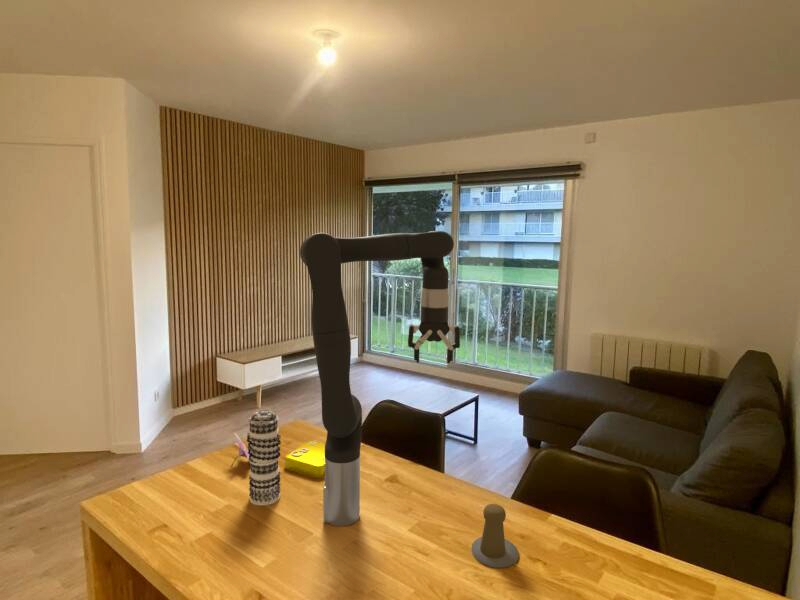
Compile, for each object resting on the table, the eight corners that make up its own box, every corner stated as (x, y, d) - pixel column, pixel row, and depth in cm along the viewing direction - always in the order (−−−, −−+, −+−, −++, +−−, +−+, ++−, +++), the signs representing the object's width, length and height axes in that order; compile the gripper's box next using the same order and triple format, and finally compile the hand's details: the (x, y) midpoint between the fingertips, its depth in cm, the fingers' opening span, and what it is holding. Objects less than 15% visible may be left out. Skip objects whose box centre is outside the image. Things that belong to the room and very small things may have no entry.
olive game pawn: (505, 560, 110) (508, 516, 109) (479, 556, 112) (481, 512, 110) (505, 544, 116) (507, 501, 115) (480, 540, 118) (482, 498, 116)
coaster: (475, 567, 109) (475, 565, 109) (468, 537, 120) (468, 535, 119) (523, 568, 109) (523, 566, 109) (512, 538, 120) (512, 536, 120)
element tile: (320, 480, 147) (320, 465, 146) (282, 469, 154) (281, 455, 153) (346, 460, 160) (346, 447, 160) (310, 451, 167) (310, 438, 166)
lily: (245, 480, 148) (259, 451, 149) (212, 463, 149) (227, 434, 150) (256, 473, 159) (270, 446, 161) (226, 457, 160) (240, 430, 162)
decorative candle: (241, 501, 134) (238, 416, 130) (262, 486, 142) (260, 405, 139) (267, 509, 130) (266, 421, 127) (288, 493, 139) (287, 410, 135)
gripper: (409, 306, 127) (407, 365, 129) (462, 307, 127) (460, 366, 129) (408, 302, 134) (407, 358, 136) (458, 303, 134) (456, 359, 136)
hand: (433, 362), depth 132 cm, fingers open, 8 cm apart
